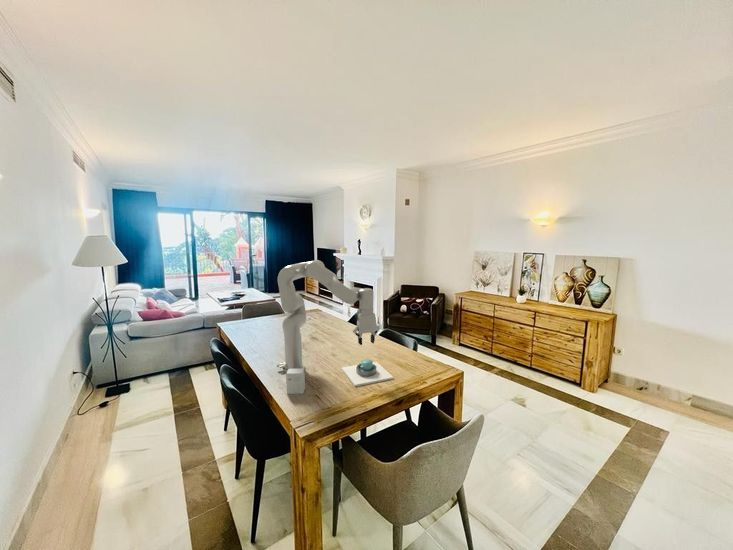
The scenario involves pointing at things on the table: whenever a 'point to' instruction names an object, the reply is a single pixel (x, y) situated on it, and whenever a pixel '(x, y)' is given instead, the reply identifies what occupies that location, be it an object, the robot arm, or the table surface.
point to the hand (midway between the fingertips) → (366, 343)
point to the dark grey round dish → (365, 371)
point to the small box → (295, 381)
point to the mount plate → (359, 380)
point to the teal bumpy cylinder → (367, 365)
